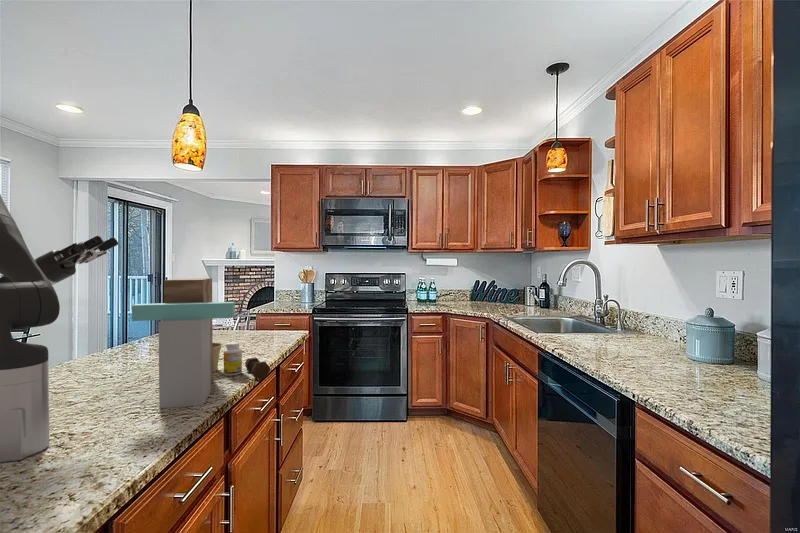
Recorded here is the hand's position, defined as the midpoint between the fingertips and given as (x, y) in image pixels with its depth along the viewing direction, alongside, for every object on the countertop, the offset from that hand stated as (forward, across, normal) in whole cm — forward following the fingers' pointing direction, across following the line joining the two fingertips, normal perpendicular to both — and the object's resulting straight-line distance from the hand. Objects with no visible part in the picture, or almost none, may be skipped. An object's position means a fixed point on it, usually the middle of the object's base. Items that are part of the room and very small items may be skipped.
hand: (109, 239), depth 107 cm
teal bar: (+6, -4, +28) cm, 29 cm away
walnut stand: (-6, +8, +46) cm, 47 cm away
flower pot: (-6, +26, +47) cm, 54 cm away
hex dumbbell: (+8, +20, +55) cm, 59 cm away
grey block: (-5, -4, +47) cm, 47 cm away
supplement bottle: (+2, +20, +51) cm, 55 cm away
